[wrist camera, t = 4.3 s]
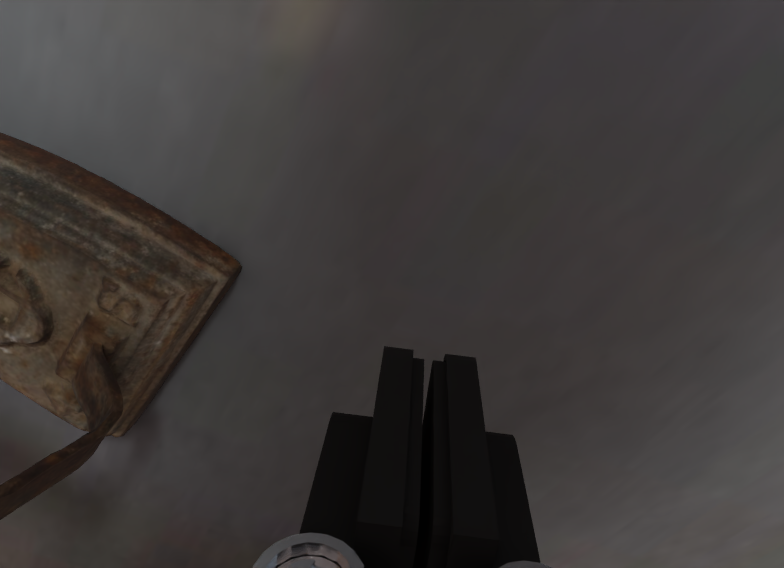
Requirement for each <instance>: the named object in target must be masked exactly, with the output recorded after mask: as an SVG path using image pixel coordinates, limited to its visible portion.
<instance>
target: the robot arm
mask: <svg viewBox="0 0 784 568" xmlns="http://www.w3.org/2000/svg"><path fill="white" fill-rule="evenodd" d="M423 383H424V359H418V358H413V350H410V349H402V348H394V347H386V346H384V351H383V358H382V364H381V370H380V377H379V383H378V390H377V396H376V402H375V409H374V415H373V417H367V416H359V415H352V414H344V413H336V412H333V413H332V415H331V418H330V421H329V425H328V429H327V433H326V436H325V440H324V444H323V448H322V451H321V455H320V459H319V462H318V466H317V470H316V474H315V477H314V481H313V485H312V489H311V492H310V496H309V500H308V504H307V507H306V511H305V515H304V518H303V522H302V526H301V530H300V533H299V534H295V535H292V536H289V537H287V538H284V539H282V540H279V541H277V542H276V543H275V544H273V545H272V546H271V547H269V548H268V549H267V550H265V551H264V552H263V553H262V555H261V556H260V557H259V559H258V560H257V562H256V563H255V564H254V566H253V567H252V568H552V567H550V566H547V565H545V564H542V563H540V558H539V553H538V548H537V543H536V538H535V533H534V528H533V523H532V518H531V513H530V509H529V504H528V499H527V494H526V489H525V484H524V479H523V474H522V469H521V464H520V459H519V454H518V449H517V444H516V441H515V438H514V437H513V435H508V434H500V433H492V432H485V425H484V417H483V410H482V402H481V394H480V387H479V379H478V371H477V363H476V358H473V357H465V356H458V355H450V354H445V357H444V361H443V362H442V361H434V360H433V363H432V368H431V374H430V381H429V387H428V393H427V400H426V406H425V412H424V419H423V425H422V417H423Z"/></svg>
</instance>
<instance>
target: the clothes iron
mask: <svg viewBox="0 0 784 568" xmlns="http://www.w3.org/2000/svg"><path fill="white" fill-rule="evenodd" d="M241 268H242V266H241V265H240V263H239V262H238V261H237V260H235V259H234V258H233V257H232V256H230V255H229V254H228V253H226V252H225V251H223V250H222V249H221V248H219V247H218V246H217V245H215V244H213V243H212V242H210V241H209V240H207V239H205V238H204V237H202V236H201V235H199V234H198V233H196V232H195V231H193V230H192V229H190V228H188V227H187V226H185V225H184V224H182V223H180V222H179V221H177V220H176V219H174V218H172V217H171V216H169V215H167V214H166V213H164V212H162V211H161V210H159V209H157V208H156V207H154V206H152V205H151V204H149V203H147V202H146V201H144V200H142V199H141V198H139V197H137V196H135V195H133V194H131V193H129V192H127V191H126V190H124V189H122V188H120V187H118V186H117V185H115V184H113V183H112V182H110V181H108V180H106V179H104V178H102V177H100V176H98V175H96V174H94V173H92V172H90V171H88V170H86V169H84V168H82V167H80V166H78V165H76V164H74V163H72V162H70V161H68V160H65V159H63V158H61V157H59V156H57V155H54V154H52V153H50V152H48V151H46V150H43V149H41V148H39V147H36V146H34V145H31V144H29V143H26V142H24V141H21V140H19V139H16V138H13V137H11V136H8V135H6V134H3V133H0V379H1V380H3V381H4V382H6V383H7V384H9V385H10V386H12V387H13V388H15V389H16V390H18V391H19V392H21V393H22V394H24V395H25V396H27V397H28V398H30V399H31V400H33V401H34V402H36V403H37V404H39V405H41V406H42V407H44V408H45V409H47V410H48V411H50V412H51V413H53V414H55V415H56V416H58V417H60V418H61V419H63V420H65V421H66V422H68V423H70V424H71V425H73V426H75V427H77V428H79V429H81V430H83V431H88V432H89V433H87V434H85V435H83V436H82V437H81V438H79V439H78V440H76V441H74V442H73V443H71V444H70V445H68V446H66V447H65V448H63V449H62V450H59V451H57V452H54V453H52V454H50V455H49V456H47V457H46V458H44V459H43V460H41V461H39V462H38V463H36V464H35V465H33V466H32V467H30V468H28V469H27V470H25V471H24V472H22V473H20V474H19V475H17V476H15V477H13V478H12V479H10V480H8V481H7V482H5V483H3V484H2V485H0V520H1V519H2V518H4V517H5V516H7V515H8V514H10V513H12V512H13V511H14V510H16V509H17V508H19V507H20V506H22V505H23V504H25V503H27V502H28V501H30V500H31V499H33V498H34V497H36V496H37V495H39V494H40V493H42V492H44V491H45V490H47V489H48V488H50V487H51V486H53V485H54V484H56V483H57V482H59V481H60V480H62V479H63V478H65V477H66V476H68V475H69V474H71V473H72V472H74V471H75V470H77V469H78V468H79V467H80V466H82V465H83V464H84V463H85V462H86V461H87V460H88V459H89V458H90V457H91V456H92V455H93V454H94V452H95V451H96V449H97V447H98V446H99V444H100V443H101V441H102V440H103V439H104V438H105V436H110V435H112V436H114V437H121V436H123V435H124V434H125V433H126V432H127V431H128V430H129V429H130V428H131V427H132V426H133V425H134V424H135V423H136V421H137V420H138V419H139V417H140V416H141V415H142V413H143V412H144V411H145V409H146V408H147V406H148V405H149V404H150V402H151V401H152V399H153V398H154V396H155V395H156V393H157V391H158V390H159V389H160V388H161V386H162V385H163V383H164V382H165V380H166V379H167V377H168V376H169V374H170V373H171V371H172V370H173V369H174V367H175V366H176V365H177V363H178V362H179V361H180V359H181V358H182V356H183V355H184V353H185V352H186V350H187V349H188V348H189V346H190V345H191V343H192V342H193V341H194V339H195V338H196V336H197V335H198V333H199V332H200V331H201V329H202V327H203V326H204V324H205V322H206V321H207V319H208V318H209V317H210V315H211V314H212V313H213V311H214V310H215V308H216V307H217V305H218V304H219V303H220V301H221V300H222V298H223V297H224V295H225V294H226V292H227V291H228V289H229V288H230V287H231V285H232V284H233V282H234V281H235V279H236V277H237V276H238V274H239V273H240V271H241Z"/></svg>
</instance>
